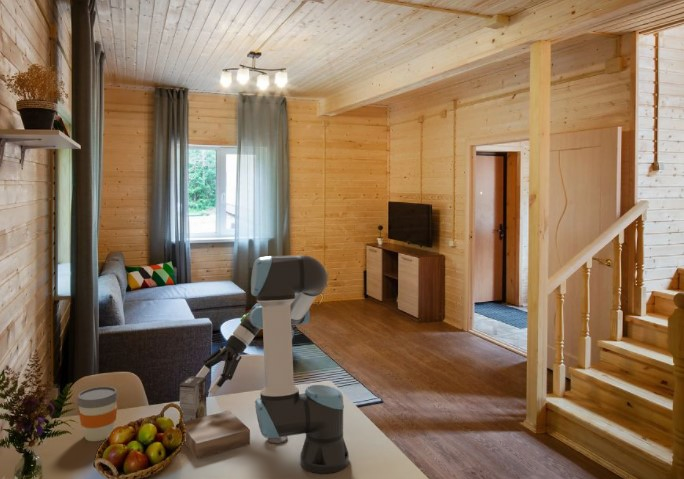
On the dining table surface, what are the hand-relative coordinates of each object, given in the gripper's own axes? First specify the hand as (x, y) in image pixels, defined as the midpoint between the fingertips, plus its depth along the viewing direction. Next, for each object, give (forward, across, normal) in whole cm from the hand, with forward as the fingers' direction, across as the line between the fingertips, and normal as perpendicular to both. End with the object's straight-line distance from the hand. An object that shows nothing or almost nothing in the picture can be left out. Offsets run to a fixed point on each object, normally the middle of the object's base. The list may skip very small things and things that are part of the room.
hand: (203, 387), depth 196 cm
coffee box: (+12, -1, -6) cm, 13 cm away
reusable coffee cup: (+32, +10, +15) cm, 37 cm away
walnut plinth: (+11, -17, -6) cm, 21 cm away
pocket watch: (-1, -29, -18) cm, 34 cm away
